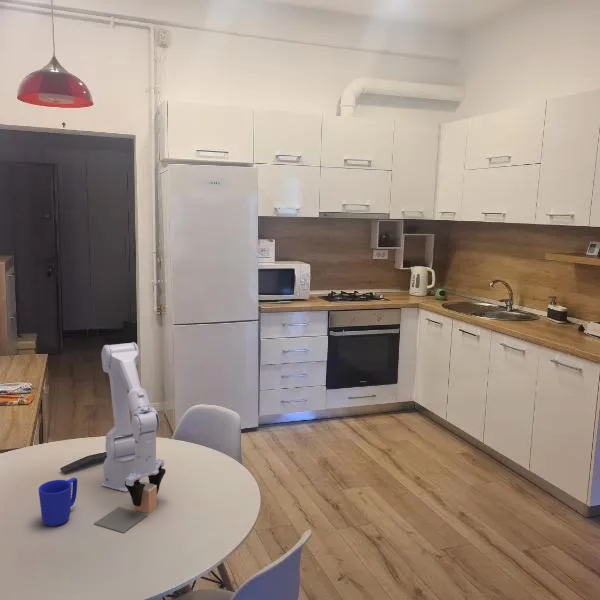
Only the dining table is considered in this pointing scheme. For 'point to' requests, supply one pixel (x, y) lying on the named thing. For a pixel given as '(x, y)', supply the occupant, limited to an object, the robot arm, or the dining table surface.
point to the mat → (120, 519)
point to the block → (148, 498)
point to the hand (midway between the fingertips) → (145, 499)
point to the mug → (57, 500)
